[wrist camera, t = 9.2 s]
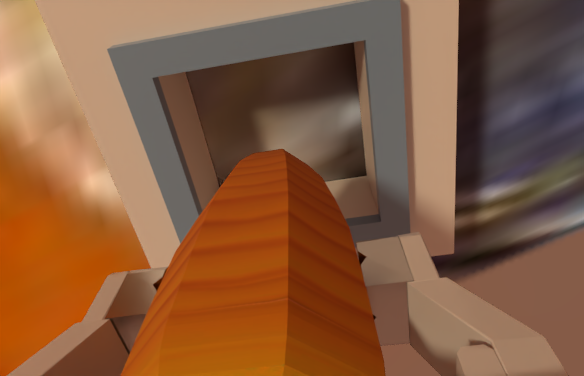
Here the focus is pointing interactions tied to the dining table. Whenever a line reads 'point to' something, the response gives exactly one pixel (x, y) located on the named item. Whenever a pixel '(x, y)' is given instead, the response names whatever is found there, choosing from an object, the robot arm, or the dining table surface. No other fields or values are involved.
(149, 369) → the carrot
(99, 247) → the dining table surface
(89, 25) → the duct block
